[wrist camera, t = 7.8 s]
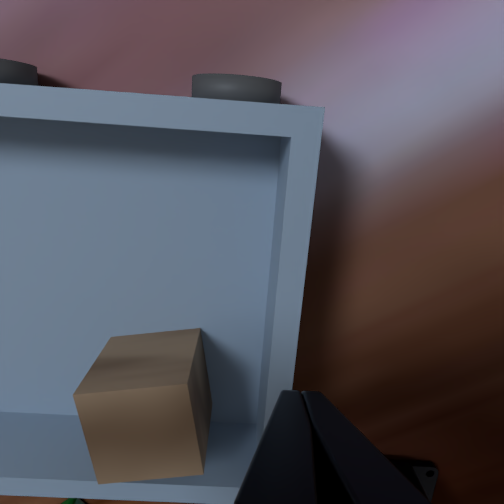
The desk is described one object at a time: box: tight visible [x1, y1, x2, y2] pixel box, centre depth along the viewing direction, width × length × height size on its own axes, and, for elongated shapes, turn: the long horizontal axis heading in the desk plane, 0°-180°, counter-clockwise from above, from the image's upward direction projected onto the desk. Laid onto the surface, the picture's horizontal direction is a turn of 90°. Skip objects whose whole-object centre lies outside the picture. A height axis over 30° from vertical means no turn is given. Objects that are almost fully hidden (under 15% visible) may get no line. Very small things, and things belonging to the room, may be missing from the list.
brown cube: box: [73, 328, 213, 484], centre depth 18 cm, size 4×4×4 cm
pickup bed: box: [0, 59, 325, 504], centre depth 18 cm, size 19×16×6 cm
